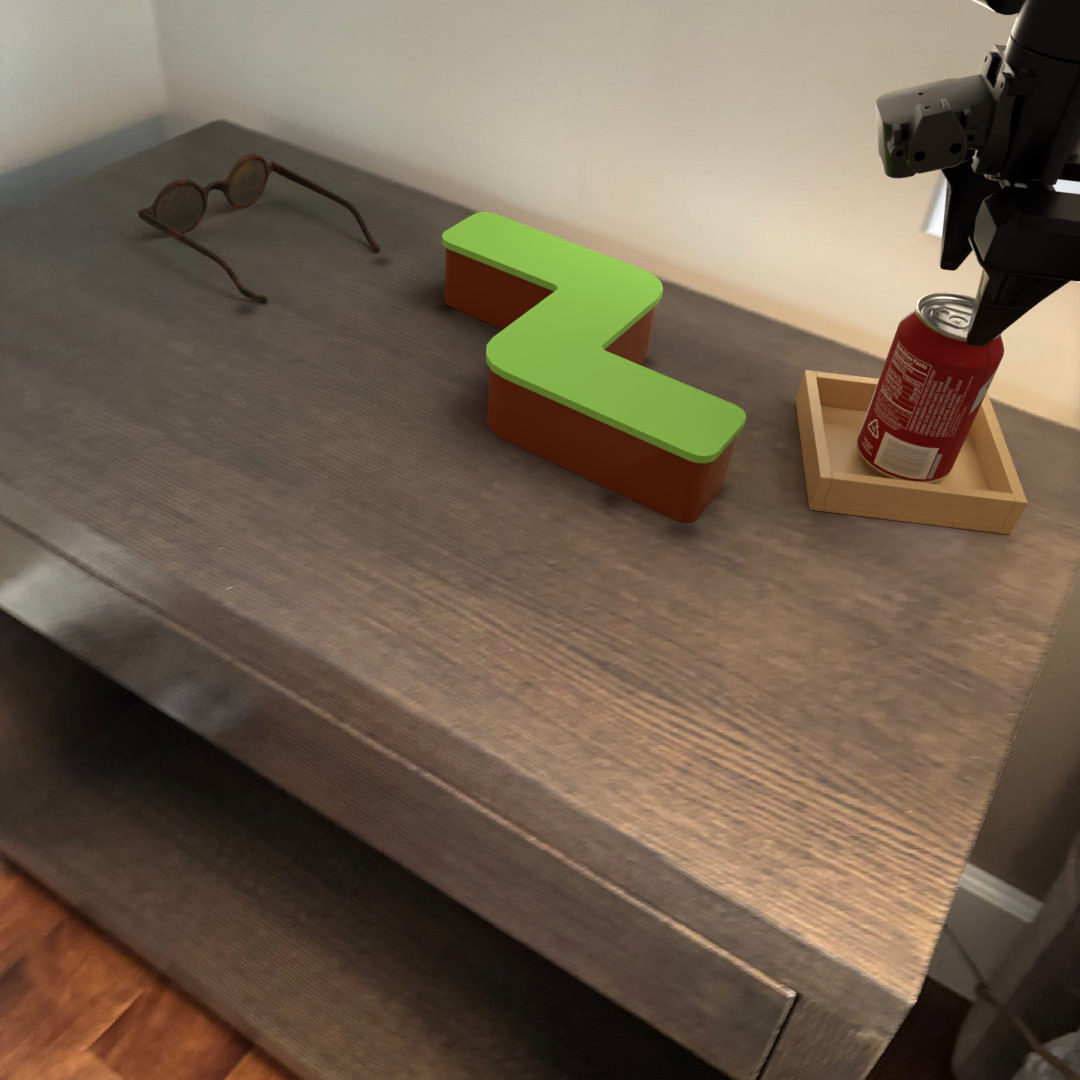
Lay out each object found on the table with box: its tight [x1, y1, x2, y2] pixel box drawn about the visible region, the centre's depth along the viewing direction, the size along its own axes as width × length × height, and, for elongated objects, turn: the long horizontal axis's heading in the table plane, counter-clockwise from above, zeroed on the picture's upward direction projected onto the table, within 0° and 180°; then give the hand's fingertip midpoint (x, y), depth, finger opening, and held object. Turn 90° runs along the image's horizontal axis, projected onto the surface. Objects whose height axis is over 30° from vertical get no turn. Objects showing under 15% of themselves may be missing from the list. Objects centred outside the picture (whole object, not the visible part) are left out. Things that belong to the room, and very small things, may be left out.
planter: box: [441, 211, 747, 523], centre depth 76 cm, size 30×18×6 cm, turn 57°
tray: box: [795, 369, 1028, 535], centre depth 73 cm, size 14×13×3 cm
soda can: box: [857, 291, 1005, 483], centre depth 69 cm, size 7×7×12 cm
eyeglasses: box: [137, 153, 381, 304], centre depth 88 cm, size 15×15×5 cm
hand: (960, 304), depth 65 cm, fingers open, 9 cm apart
